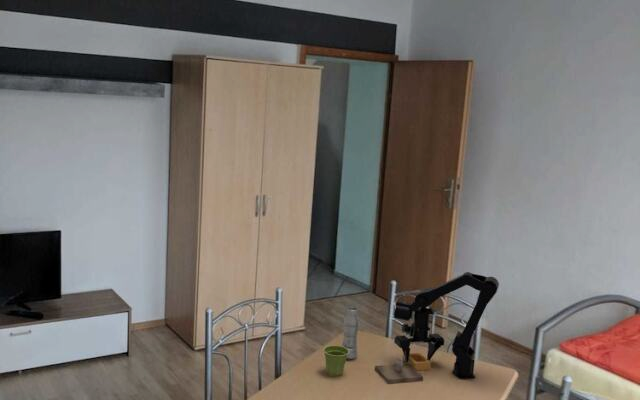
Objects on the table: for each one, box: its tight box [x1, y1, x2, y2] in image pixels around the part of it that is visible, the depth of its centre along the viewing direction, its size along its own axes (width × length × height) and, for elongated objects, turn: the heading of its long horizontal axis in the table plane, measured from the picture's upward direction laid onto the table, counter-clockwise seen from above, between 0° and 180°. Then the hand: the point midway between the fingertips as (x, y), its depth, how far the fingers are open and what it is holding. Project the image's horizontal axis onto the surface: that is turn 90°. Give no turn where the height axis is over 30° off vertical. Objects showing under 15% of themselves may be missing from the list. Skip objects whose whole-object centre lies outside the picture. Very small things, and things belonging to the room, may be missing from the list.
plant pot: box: [323, 345, 349, 377], centre depth 242 cm, size 9×9×9 cm
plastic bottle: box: [341, 306, 361, 360], centre depth 255 cm, size 6×7×20 cm
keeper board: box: [374, 356, 424, 385], centre depth 244 cm, size 14×12×7 cm
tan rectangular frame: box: [403, 352, 432, 372], centre depth 254 cm, size 7×9×3 cm
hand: (417, 361), depth 254 cm, fingers open, 9 cm apart
